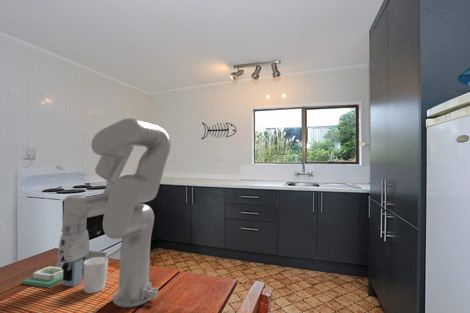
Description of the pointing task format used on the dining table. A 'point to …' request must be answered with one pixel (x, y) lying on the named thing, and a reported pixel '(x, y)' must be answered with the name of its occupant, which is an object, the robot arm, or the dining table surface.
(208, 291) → the dining table surface
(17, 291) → the dining table surface
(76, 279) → the plug
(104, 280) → the white cup
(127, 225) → the robot arm
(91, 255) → the cassette
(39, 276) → the header board
